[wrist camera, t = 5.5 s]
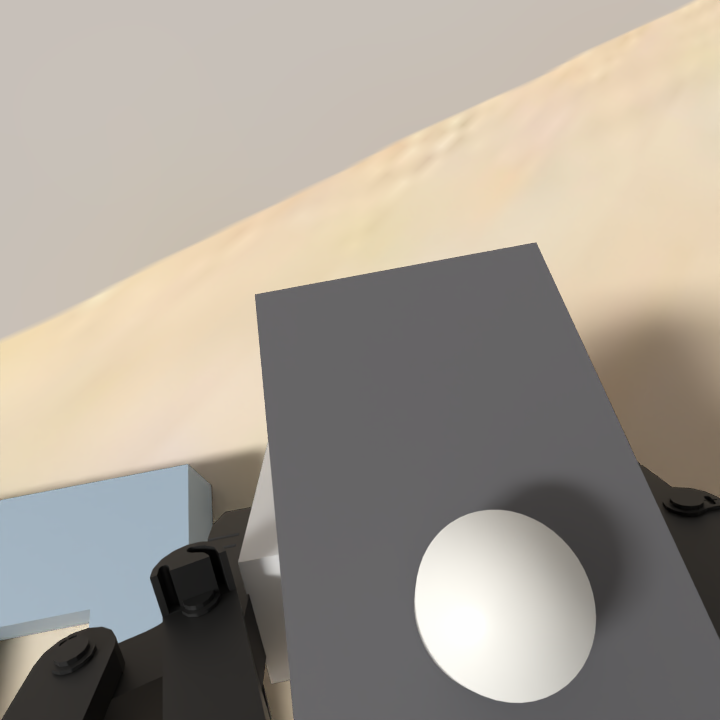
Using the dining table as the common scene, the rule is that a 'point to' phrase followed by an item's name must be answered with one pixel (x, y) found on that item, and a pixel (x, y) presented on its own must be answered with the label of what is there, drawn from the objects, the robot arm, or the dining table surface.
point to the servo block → (467, 508)
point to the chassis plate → (96, 550)
